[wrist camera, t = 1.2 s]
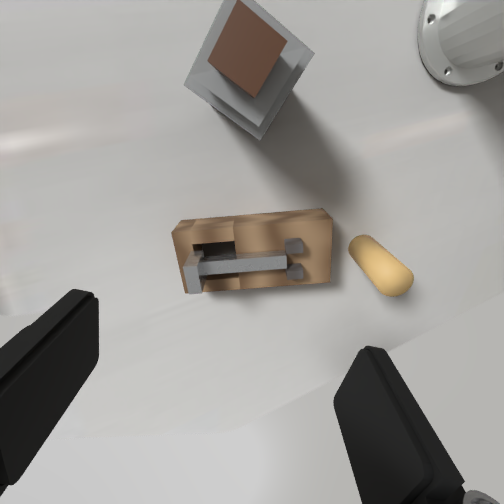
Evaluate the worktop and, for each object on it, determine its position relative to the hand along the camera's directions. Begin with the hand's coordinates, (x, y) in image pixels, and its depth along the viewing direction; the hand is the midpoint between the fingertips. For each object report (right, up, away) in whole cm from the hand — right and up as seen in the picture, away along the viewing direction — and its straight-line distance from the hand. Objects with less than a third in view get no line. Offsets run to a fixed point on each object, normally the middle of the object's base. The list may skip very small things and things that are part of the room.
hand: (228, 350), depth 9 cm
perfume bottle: (0, +22, +22) cm, 31 cm away
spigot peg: (+17, +4, +30) cm, 35 cm away
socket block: (+1, +5, +29) cm, 30 cm away
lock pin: (-1, +2, +25) cm, 25 cm away
